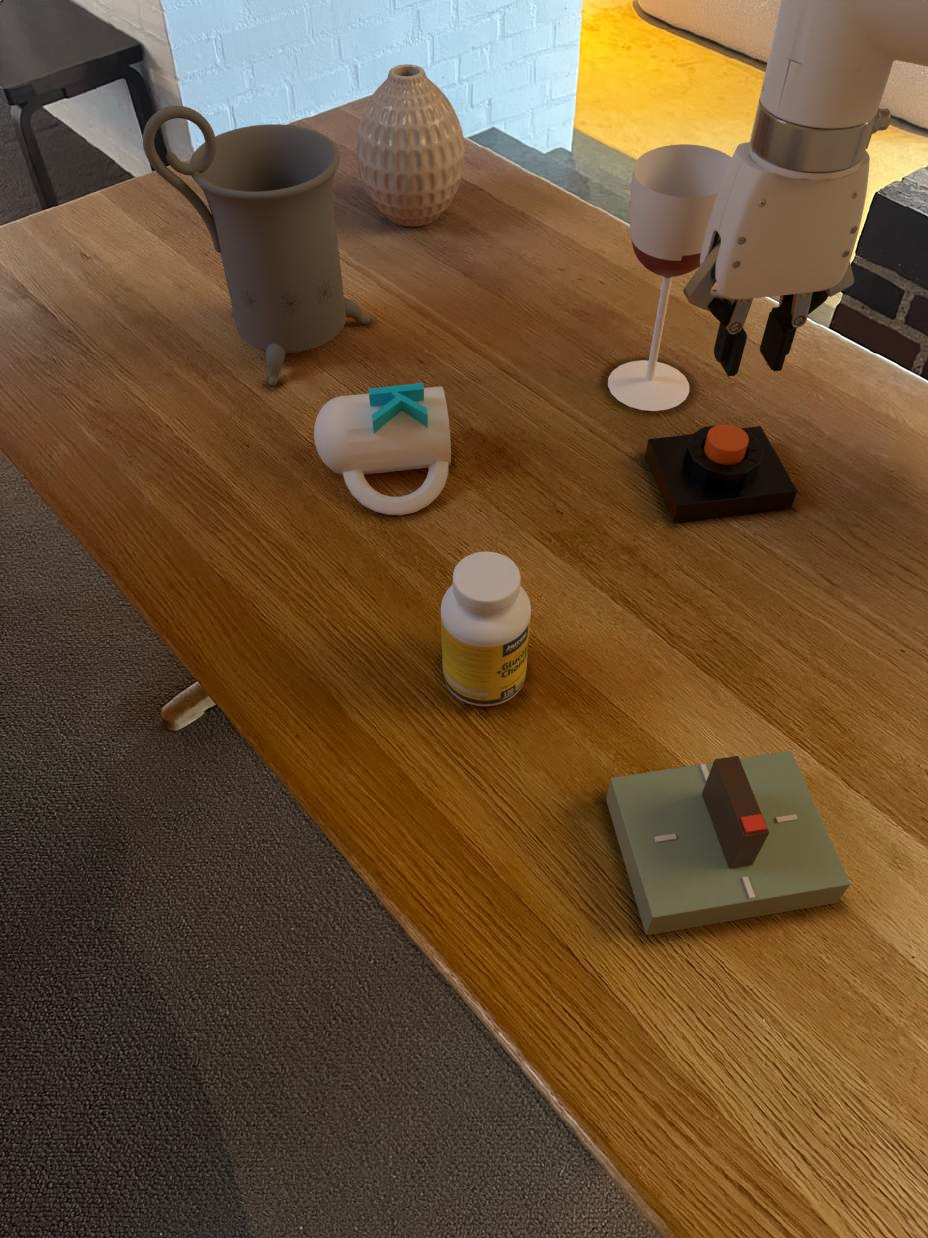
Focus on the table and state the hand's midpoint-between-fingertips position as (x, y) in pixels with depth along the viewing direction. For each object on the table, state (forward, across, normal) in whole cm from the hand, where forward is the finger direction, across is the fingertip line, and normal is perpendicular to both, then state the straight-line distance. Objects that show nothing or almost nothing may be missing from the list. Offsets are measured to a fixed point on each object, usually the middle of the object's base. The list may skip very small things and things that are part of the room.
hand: (748, 361), depth 78 cm
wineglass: (+13, +2, -15) cm, 20 cm away
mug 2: (+13, +30, -6) cm, 33 cm away
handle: (+10, +12, +35) cm, 38 cm away
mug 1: (+13, +38, -29) cm, 50 cm away
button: (+10, 0, 0) cm, 10 cm away
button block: (+13, 0, 0) cm, 13 cm away
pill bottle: (+13, +25, +18) cm, 34 cm away
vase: (+13, +21, -53) cm, 59 cm away
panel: (+13, +12, +35) cm, 39 cm away
